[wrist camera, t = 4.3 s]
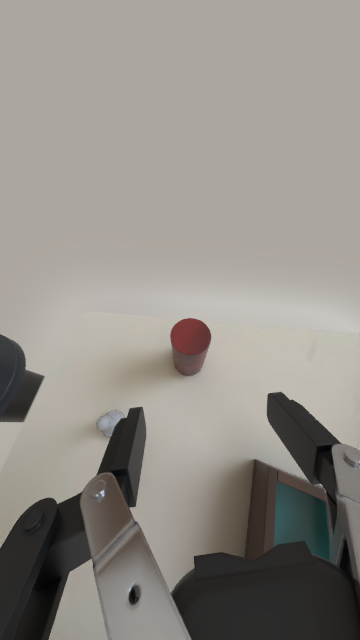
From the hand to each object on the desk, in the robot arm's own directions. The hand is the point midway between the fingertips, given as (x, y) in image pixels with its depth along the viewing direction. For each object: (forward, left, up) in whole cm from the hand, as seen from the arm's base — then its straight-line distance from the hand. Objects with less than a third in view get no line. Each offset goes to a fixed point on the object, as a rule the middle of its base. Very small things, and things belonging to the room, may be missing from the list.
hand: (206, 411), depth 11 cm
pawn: (-9, -4, -11) cm, 15 cm away
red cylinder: (-3, +6, -11) cm, 13 cm away
